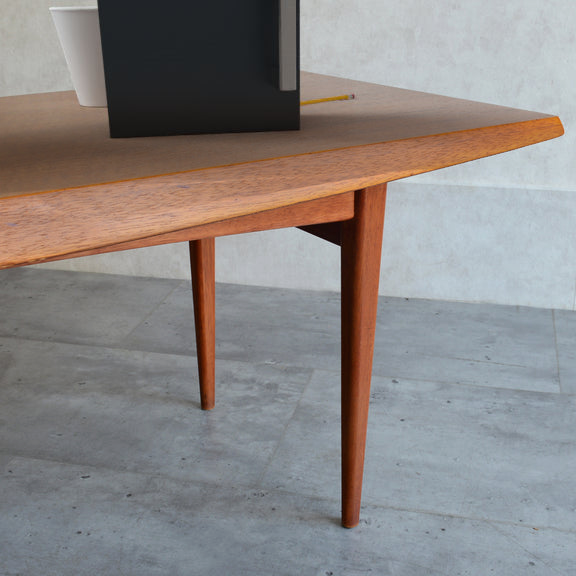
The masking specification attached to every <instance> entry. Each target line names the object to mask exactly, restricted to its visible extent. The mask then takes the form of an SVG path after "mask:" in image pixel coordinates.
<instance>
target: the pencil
mask: <svg viewBox="0 0 576 576" xmlns="http://www.w3.org/2000/svg"><path fill="white" fill-rule="evenodd" d="M354 97H355V98H356V96H355V93H350V94H344V95H343V94H341V95H336V96H329V97H323V98H317V99H310V100H303V101H300V107H301V106H307V105H308V106H309V105H313V104H314V105H315V104H319V103H326V102H336V101H335V100H340V101H342V100H341V99H346V100H349V99H348V98H353V99H355V98H354Z"/></svg>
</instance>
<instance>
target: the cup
mask: <svg viewBox="0 0 576 576" xmlns="http://www.w3.org/2000/svg"><path fill="white" fill-rule="evenodd" d="M48 10H49V11H50V14H51V18H52V21H53V25H54V28H55V30H56V33H57V36H58V40H59V44H60V46H61V50H62V52H63V55H64V56H63V57H64V58H65V62H66V66H67V68H68V71H69V75H70V78H71V80H72V84H73V87H74V90H75V93H76V96H77V101H78V104H79V105H80V106H83V107H89V108H106V107H107V98H106V88H105V78H104V67H103V57H102V47H101V36H100V26H99V16H98V5H95V6H94V5H90V6H89V5H87V6H85V5H82V6H81V5H80V6H78V5H77V6H51V7H49V8H48Z"/></svg>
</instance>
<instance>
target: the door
mask: <svg viewBox="0 0 576 576" xmlns="http://www.w3.org/2000/svg"><path fill="white" fill-rule="evenodd" d="M96 3H97V5H96V6H98V16H99V26H100V36H101V47H102V57H103V67H104V78H105V88H106V98H107V119H108V128H109V129H108V130H109V138H110V139H118V138H119V139H121V138H140V137H141V138H142V137H144V138H145V137H163V136H187V135H188V136H189V135H209V134H235V133H251V132H252V133H254V132H255V133H256V132H279V131H282V132H283V131H300V130H301V106H300V102H301V0H96Z"/></svg>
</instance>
